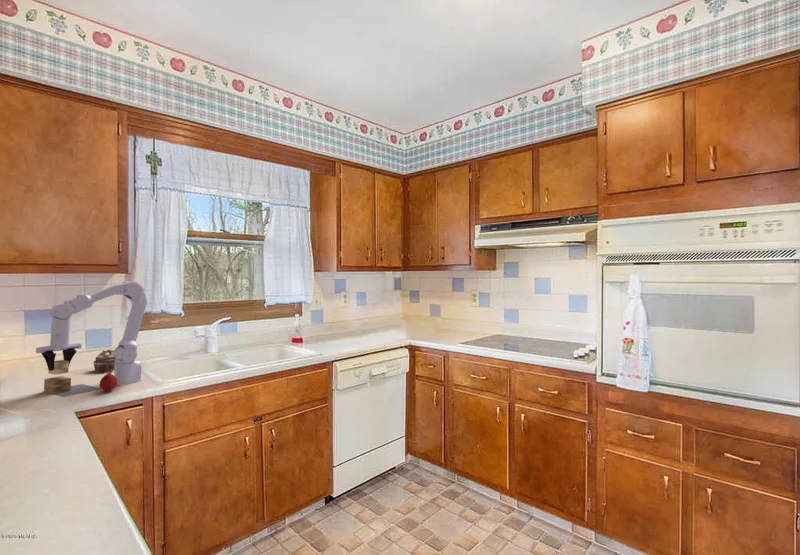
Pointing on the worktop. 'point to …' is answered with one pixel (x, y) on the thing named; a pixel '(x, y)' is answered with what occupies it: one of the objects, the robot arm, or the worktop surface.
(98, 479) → the worktop surface
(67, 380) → the tower top
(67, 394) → the mat
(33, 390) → the worktop surface
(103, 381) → the red round fruit
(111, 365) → the cupcake
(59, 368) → the cube
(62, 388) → the tower base
